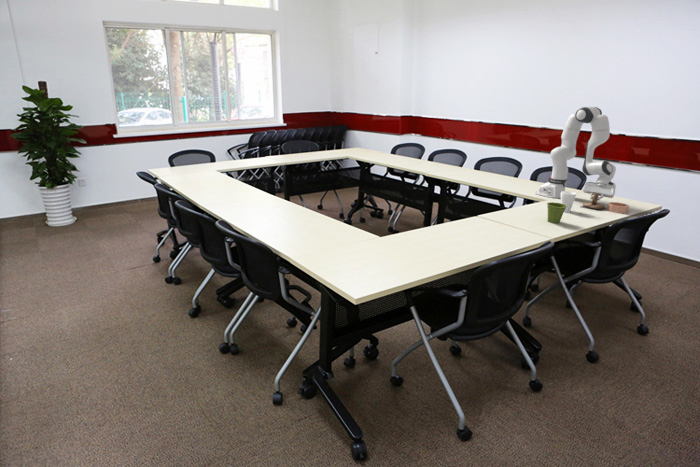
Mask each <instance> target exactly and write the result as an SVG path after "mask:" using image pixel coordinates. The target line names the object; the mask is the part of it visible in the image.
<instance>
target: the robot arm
mask: <svg viewBox="0 0 700 467" xmlns="http://www.w3.org/2000/svg"><path fill="white" fill-rule="evenodd" d="M564 124H565V125H564V127H563V130H562V134H561V136H560V138H561V144H560V146H557V147H555V148H553V149H552V150H551V151H550V155H549V156H550V158H551V161H552V162H551V163H552V172H551V176H550V177H549V178H548V179H547V182H545V183H543V184H541V185H540V186H539V188H538V189H537V190H536V191H535V192H534V194H535V195H539V196H543V197H546V198H551V199H561V192H562V191H566V187H567V183H568V174H569V167H568V163H567V162H568V161H569V160H572V159H574V158H575V157H576V155H577V150H576V148H577V147H576V146H577V141H578V137H579V134H580V132H581V129H582V126H583V125H584V124H590V126H591V134H590V138H589V139H588V140H587V142H586V148H585V152H584V153H585V154H584V159H583V160H584V161H583V164H582V169H581V170H582V172H583V174H584V175H585V176H598V177H597V179H596V180H595V182H593V181H588V182H586V183H585V184H584V187H583V188H582V192H583V193H585V194H588V195H590V198H589V199H590V200H592V199H593V195H594V193H597V194H599V196H598V198H597V202H598V201H601V199H603V198H609V199H613V198H614V196H615V194H616V189H617V188H616V183H615V182H613V181H612V180H613V179H614V177H615V174H616V170H617V168H616V165H614V164H613V163H610V162H609V161H608V160H597V161H593V159H594V152H595V149H596V148H597V147H598V146H600V145H603V144H604V143H605V142H607V141H608V140H609V138H610V135H611V134H610V133H611V131H610V130H611V129H610V128H611V127H610V121H609V117H608V116H607V115H606V114H603V112H602V109H601V108H599V107H597V106H584V107H580V108H578V109H577V110H576V111H575V113H572V114H570V115H569V116H568V118H567V120H566V122H565V123H564Z"/></svg>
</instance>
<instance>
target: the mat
mask: <svg viewBox="0 0 700 467" xmlns="http://www.w3.org/2000/svg"><path fill="white" fill-rule="evenodd" d="M580 208H582V209H587V210H592V211H596V212H602V211H605V210H607V207H605V208H603V209H595V208H590V207H586V206H584V205H583V204H582V205H580Z"/></svg>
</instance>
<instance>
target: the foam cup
mask: <svg viewBox="0 0 700 467" xmlns="http://www.w3.org/2000/svg"><path fill="white" fill-rule="evenodd" d="M576 197H577V193H576V192H575V191H568V190H565V191H562V192H561V198H560V201H559V202H560V203H561V204H564V205H567V207H566V209H565V211H564V213H570V212H571V209H572V208H573V204H574V202H575V199H576Z"/></svg>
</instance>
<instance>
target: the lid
mask: <svg viewBox="0 0 700 467" xmlns="http://www.w3.org/2000/svg"><path fill="white" fill-rule="evenodd" d="M592 196H593V199H591V200H592V201H584V202H583V203H582V206H583V205H584V206H586V207H590V208H595V209H603V208H606V206H605V204H602V203H599V202H598V200H597V198H598V197H600V196H599V194H597V193H594V195H592Z"/></svg>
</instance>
